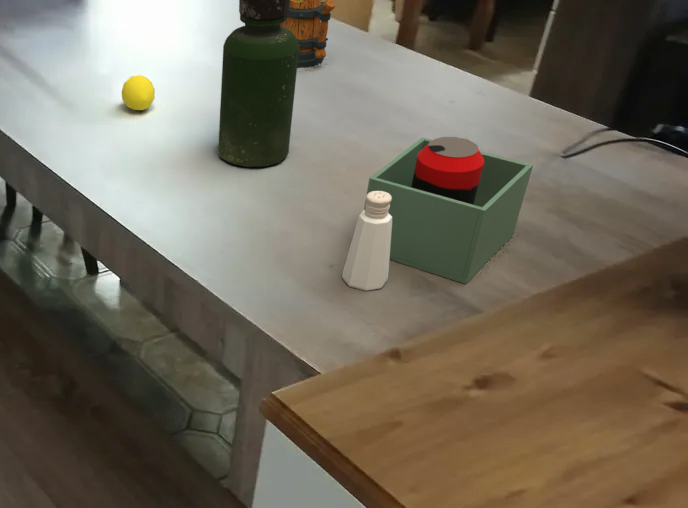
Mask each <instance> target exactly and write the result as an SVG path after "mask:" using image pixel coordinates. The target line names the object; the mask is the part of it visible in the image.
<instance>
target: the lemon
mask: <svg viewBox="0 0 688 508" xmlns="http://www.w3.org/2000/svg"><path fill="white" fill-rule="evenodd" d="M155 91H156V90H155V87H154V85H153V82H152V81H151V80H150V79H149V78H148V77H147V76H144V75H140V74H138V75H132V76H130V77H128V79H126V81H124V82H123V86H122V89H121V99H122V101H123V103H124V105H125V106H126V107H127V108H130V109H131V110H133V111H135V110H142V111H144V110H146V109H148V108H150V106H152V104H153V102H154V100H156V99H155V98H156V96H155V95H156V94H155V93H156V92H155Z"/></svg>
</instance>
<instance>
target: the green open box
mask: <svg viewBox="0 0 688 508" xmlns="http://www.w3.org/2000/svg"><path fill="white" fill-rule="evenodd" d="M432 140H433V139H431V138H426V137H423V136H422V137H420V138H419V139H418V140H416V142H414V143H413V144H412V145H411V146H409V147H408V148H406V149H405V150H404V151H402V152H401V153H399V155H397V156H396V157H395V158H394V159H392V160H391V161H389V162H388V163H387V164H386V165H384V166H383V167H381V169H379V170H377V172H376V173H374V174H373V175H372V176H370V177H369V178H368V183H367V184H368V185H367V191H366V195H367V194H368V193H370V192H372V191H384V192H387V193H389V194H390V195H391V197H392V200H391V202H390V208H389V210H388V213H389V214H390V215H391V216H392V232H391V245H390V259H389V261H393V262H396V263H399V264H402V265H406V266H408V267H412V268H414V269H417V270H420V271H424V272H426V273H430V274H433V275H436V276H438V277H439V276H440V277H442V278H445V279H448V280H451V281H455V282H457V283H460V284H464V285H467V284H468V283H469V282H470V281H471V279H473V278H474V277H475V275H477V273H478V272H480V270H481V269H482V268H483V267H484V266H485V265H486V264H487V263H488V262H489V261H490V260H491V259H492V258H493V257H494V256H495V255H496V254H497V253H498V252H499V251H500V249H502V248H503V247H504V246H505V245H506V244H507V242H509V240H510V239H511V238H512V237H514V232H515V229H516V226H517V221H518V219H519V215H520V212H521V209H522V205H523V203H524V202H523V201H524V198H525V194H526V191H527V187H528V184H529V181H530V177H531V174H532V171H533V167H534V164H532V163H527V162H523V161H520V160H515V159H511V158H508V157H504V156H503V157H502V156H499V155H495V154H491V153H487V152H483V151H480V152H481V154H482V156H483V158H484V165H483V169H482V173H481V177H480V181H479V185H478V189H477V193H476V197H475V201H474V205H472V204H469V203H465V202H461V201H458V200H454V199H451V198H447V197H443V196H440V195H436V194H433V193H429V192H425V191H422V190H418V189H415V188H411V186H412V181H413V176H414V171H415V166H416V161H417V156H418V153H419V152H420V151H421V150H422V149H423V148H424V147H425V146H426V145H428V144H429V142H430V141H432ZM366 202H367V201H366V200H365V202H364V206H365V205H366ZM365 209H366V208H365V207H364V208H363V210H365Z"/></svg>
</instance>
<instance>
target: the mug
mask: <svg viewBox="0 0 688 508" xmlns="http://www.w3.org/2000/svg"><path fill="white" fill-rule="evenodd" d="M335 8H336V3H335V1H334V0H325V1H322V0H290V6H289V13H288V14H287V19H286V21H285V22H283V23H281V24H280V26H283V27H285V28H287V29H289V30H290V31H292V33H293V34H294V35H295V37H296V38H297V41H298V45H299V54H298V64H297V69H298V68H309V67H314V66H317V65H319V64H321V63H322V62H323V61H324V59H325V58H326V56H327V51H326V48H327V41H328V40H329V38H328V37H327V35H328V29H329V21H330V20H331V16H332V14H331V12H332V11H333V10H334V9H335Z"/></svg>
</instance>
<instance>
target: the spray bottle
mask: <svg viewBox="0 0 688 508" xmlns="http://www.w3.org/2000/svg"><path fill="white" fill-rule="evenodd" d="M238 3H239V4H238V12H239V20H240V22H241V23H242V24H244V25H242V26H240V27H237V28H235V29H233V30H232V31H231V33H230V34H229V35H228V36H227V37H226V38H225V40H224V43H223V45H222V46H223V47H222V65H221V67H222V69H221V85H220V90H221V91H220V104H219V125H218V126H219V127H218V145H217V150H218V155H219V157H220V158H221V159H223V160H224V161H226V162H228V164H232V165H236V166H240V167H246V168H261V167H262V168H263V167H270V166H272V165H275V164H279V163H280V162H282V161H283V160H284V159H285V158H286V157H287V156H288V155H289V152H290V151H289V150H290V140H291V131H292V122H293V112H294V102H295V94H296V93H295V91H296V82H297V73H298V68H297V64H298V54H299V45H298V41H297V38H296V37H295V35H294V34H293V33H292V31H290V30H289V29H287V28H285V27H283V26H280V24H281V23H283V22H285V21H286V19H287V14H288V13H289V6H290V0H238Z"/></svg>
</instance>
